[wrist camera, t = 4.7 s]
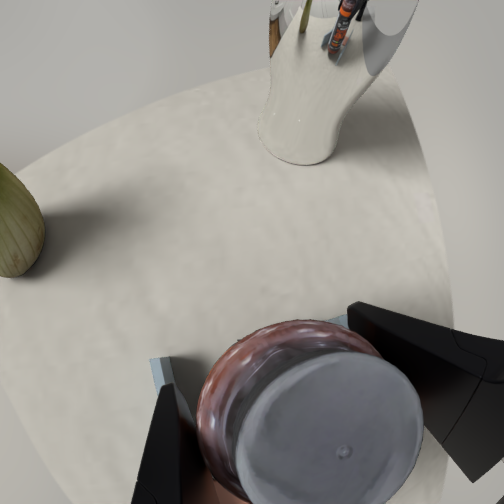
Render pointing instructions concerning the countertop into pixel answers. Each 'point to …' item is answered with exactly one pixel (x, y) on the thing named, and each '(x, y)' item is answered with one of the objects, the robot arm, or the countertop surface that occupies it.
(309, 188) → the countertop surface
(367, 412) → the supplement bottle
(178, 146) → the countertop surface
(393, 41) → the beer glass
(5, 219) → the fennel bulb
